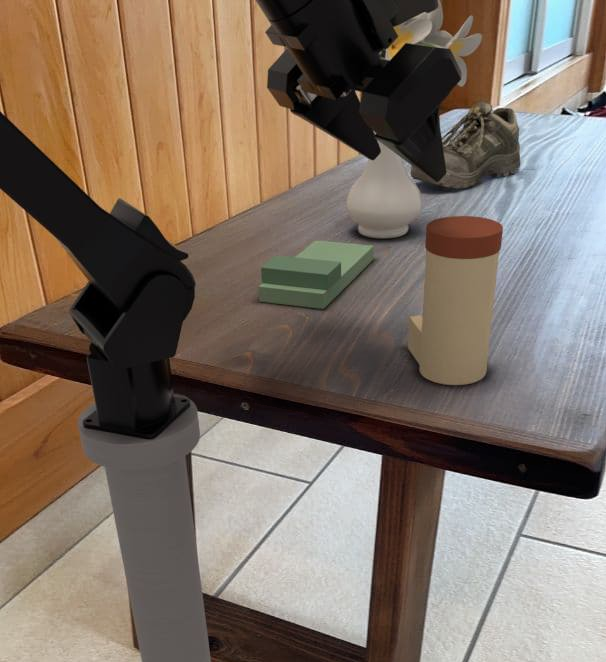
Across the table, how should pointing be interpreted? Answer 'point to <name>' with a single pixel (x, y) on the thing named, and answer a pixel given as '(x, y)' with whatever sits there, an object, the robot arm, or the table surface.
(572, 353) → the table surface
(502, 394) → the table surface
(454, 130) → the hiking shoe
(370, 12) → the robot arm
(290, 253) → the table surface
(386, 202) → the flower vase
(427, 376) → the brown-capped cream cylinder
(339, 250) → the green stepped slab
